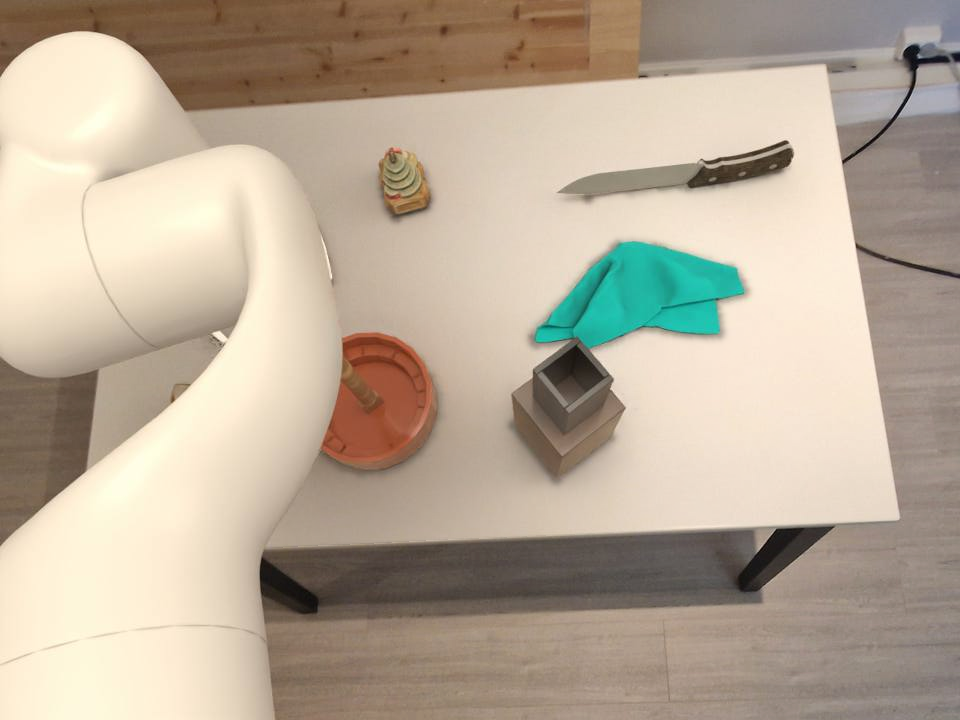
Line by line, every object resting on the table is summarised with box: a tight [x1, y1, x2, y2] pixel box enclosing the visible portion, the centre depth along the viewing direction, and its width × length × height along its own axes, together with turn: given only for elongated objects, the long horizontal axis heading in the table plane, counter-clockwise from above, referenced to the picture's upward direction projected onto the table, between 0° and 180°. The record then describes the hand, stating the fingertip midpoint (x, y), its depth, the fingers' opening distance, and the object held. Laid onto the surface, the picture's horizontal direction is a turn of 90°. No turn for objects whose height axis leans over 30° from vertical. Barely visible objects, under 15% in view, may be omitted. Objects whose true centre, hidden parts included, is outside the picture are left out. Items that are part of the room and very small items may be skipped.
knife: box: [556, 139, 795, 195], centre depth 89 cm, size 6×2×30 cm
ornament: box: [378, 146, 431, 216], centre depth 89 cm, size 8×6×10 cm
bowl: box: [320, 331, 438, 471], centre depth 82 cm, size 15×15×6 cm
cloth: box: [534, 240, 745, 349], centre depth 86 cm, size 26×14×2 cm, turn 95°
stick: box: [341, 355, 384, 414], centre depth 76 cm, size 2×2×18 cm
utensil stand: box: [510, 337, 627, 479], centre depth 72 cm, size 8×8×23 cm
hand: (286, 331), depth 58 cm, fingers open, 9 cm apart
